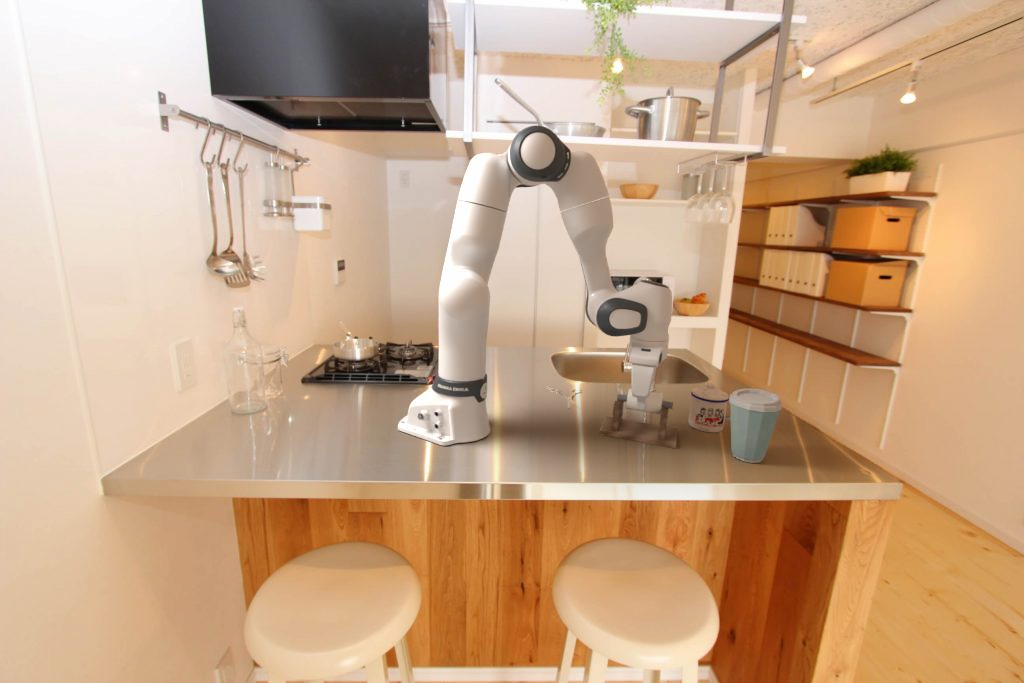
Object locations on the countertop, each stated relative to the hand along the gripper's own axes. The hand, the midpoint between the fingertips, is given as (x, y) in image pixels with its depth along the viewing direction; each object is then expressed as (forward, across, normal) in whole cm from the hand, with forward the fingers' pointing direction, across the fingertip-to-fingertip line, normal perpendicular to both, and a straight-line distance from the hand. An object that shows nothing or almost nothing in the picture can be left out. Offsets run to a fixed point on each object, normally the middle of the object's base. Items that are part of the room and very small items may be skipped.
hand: (642, 404), depth 117 cm
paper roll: (-1, 0, 0) cm, 1 cm away
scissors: (+8, -16, -22) cm, 29 cm away
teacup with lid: (+8, -13, +17) cm, 23 cm away
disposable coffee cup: (+8, +2, +24) cm, 25 cm away
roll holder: (+8, 0, 0) cm, 8 cm away
